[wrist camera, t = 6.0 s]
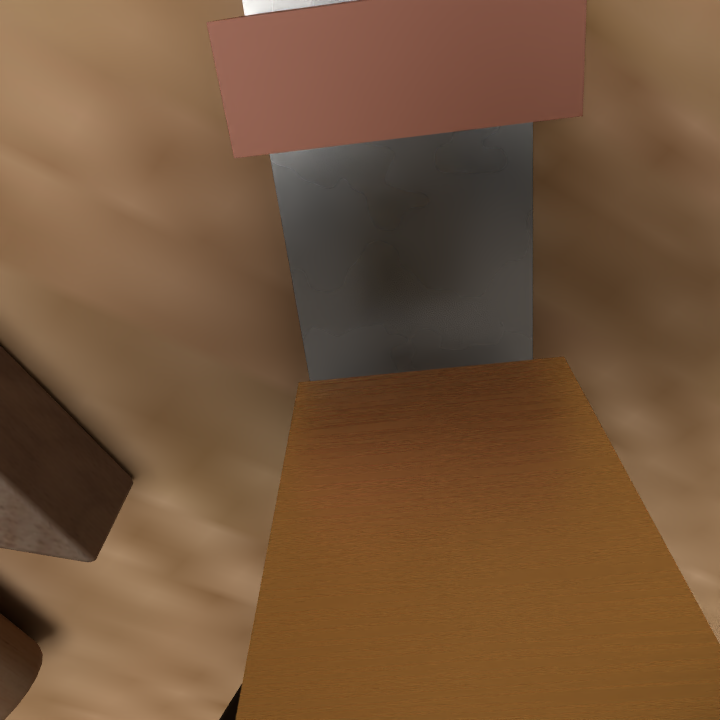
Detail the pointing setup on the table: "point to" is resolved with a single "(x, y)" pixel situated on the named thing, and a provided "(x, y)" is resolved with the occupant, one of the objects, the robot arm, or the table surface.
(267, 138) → the block
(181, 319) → the table surface
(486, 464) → the block
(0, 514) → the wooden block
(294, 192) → the vise
